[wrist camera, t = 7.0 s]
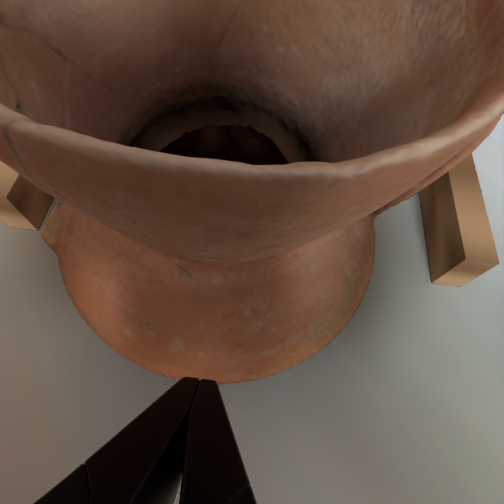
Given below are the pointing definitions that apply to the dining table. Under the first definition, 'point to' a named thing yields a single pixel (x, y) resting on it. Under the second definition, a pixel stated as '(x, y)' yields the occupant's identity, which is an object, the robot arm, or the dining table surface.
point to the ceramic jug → (236, 158)
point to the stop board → (432, 205)
